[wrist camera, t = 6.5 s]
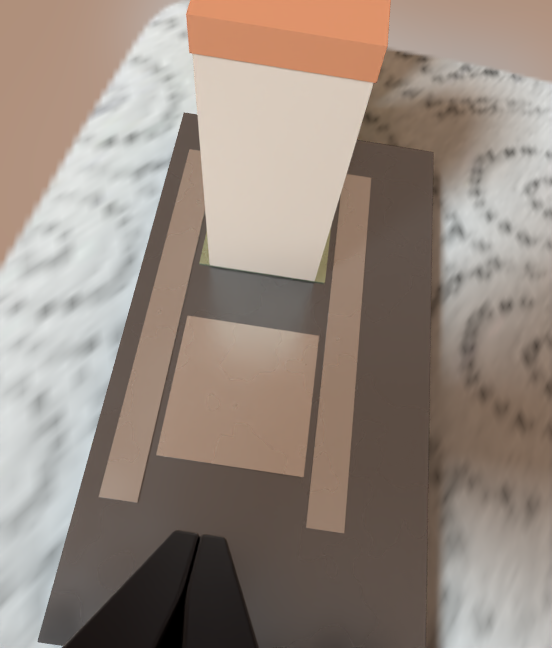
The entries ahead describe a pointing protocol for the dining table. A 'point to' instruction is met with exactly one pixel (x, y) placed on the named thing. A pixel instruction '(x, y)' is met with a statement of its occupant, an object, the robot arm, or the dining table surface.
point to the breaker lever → (280, 121)
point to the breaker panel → (273, 418)
